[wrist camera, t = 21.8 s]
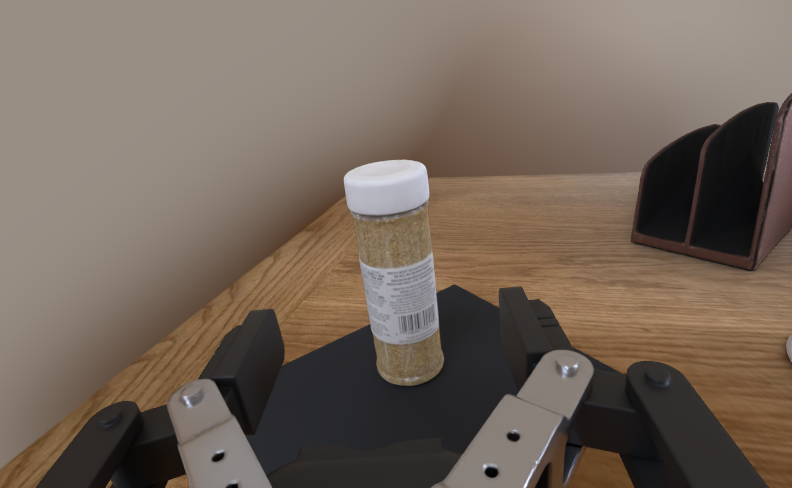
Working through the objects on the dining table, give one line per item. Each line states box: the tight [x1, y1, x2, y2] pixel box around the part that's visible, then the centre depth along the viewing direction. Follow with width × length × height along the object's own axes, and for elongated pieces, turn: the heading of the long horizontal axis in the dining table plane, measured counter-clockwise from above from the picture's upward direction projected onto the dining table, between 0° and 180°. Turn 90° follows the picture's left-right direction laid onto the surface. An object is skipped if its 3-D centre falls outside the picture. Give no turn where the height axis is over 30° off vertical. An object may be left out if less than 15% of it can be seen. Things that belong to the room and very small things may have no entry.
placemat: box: [245, 285, 622, 475], centre depth 27 cm, size 20×16×1 cm
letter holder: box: [631, 93, 792, 270], centre depth 41 cm, size 10×20×14 cm, turn 129°
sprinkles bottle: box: [344, 160, 444, 386], centre depth 26 cm, size 5×5×14 cm
